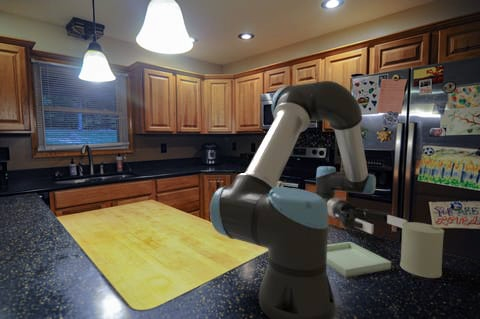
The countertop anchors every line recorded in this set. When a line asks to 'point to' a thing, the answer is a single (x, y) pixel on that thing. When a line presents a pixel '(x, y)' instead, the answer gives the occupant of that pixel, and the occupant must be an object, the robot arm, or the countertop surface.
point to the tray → (354, 260)
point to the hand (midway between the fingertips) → (389, 227)
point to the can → (422, 249)
